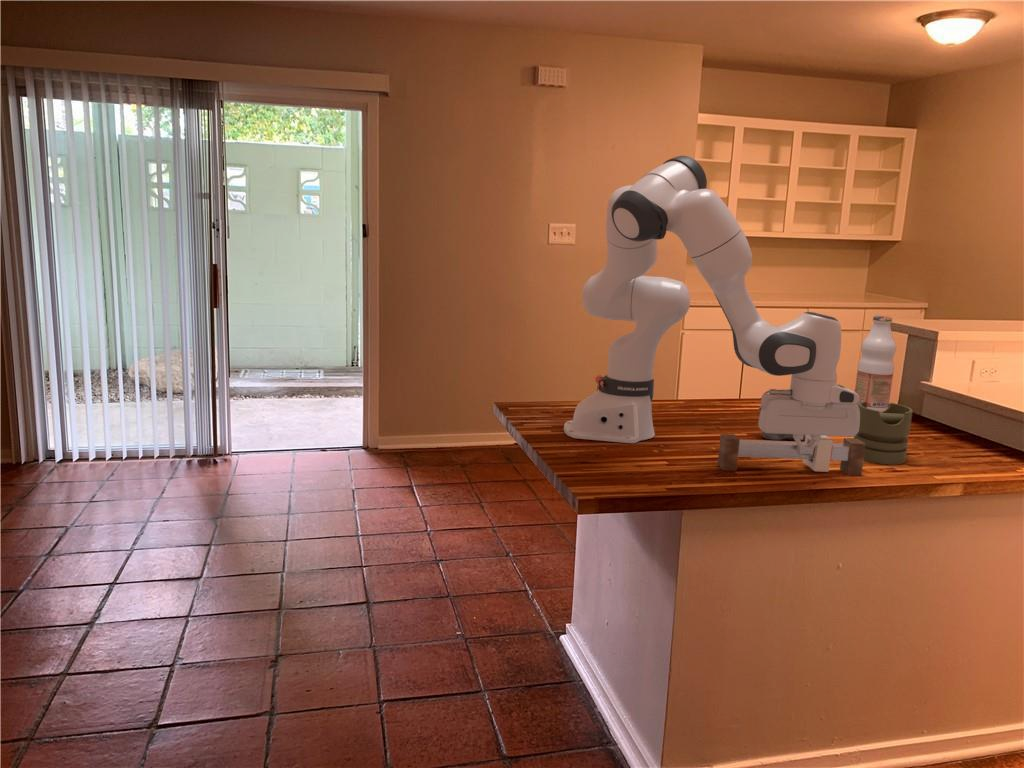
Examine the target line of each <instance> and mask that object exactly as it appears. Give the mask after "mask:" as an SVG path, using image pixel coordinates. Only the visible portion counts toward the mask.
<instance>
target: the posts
mask: <svg viewBox="0 0 1024 768" xmlns="http://www.w3.org/2000/svg"><path fill="white" fill-rule="evenodd" d="M740 440H741V438H739V437H738V436H737V435H736V434H734V433H720V437H719V445H718V446H719V449H718V459H717V465H718V467H719V466H720V467H721V468H720V467H719V468H720V469H721V470H722V471H734V472H735V471H736V472H737V470H738V469H737V467H738V458H739V457H738V451H739V441H740ZM842 443H845V444H846V445H848V446H849V447H850V453H849V460H848V461H843V460H840V466H839V469H840V470H841V471H842V472H843V471H844V472H843V473H845V474H846V475H848V476H862V475H863V474H862V473H863V466H864V462H865V461H864V454H865V446H866V444H865V443H863V442H862V441H860V440H859V439H854V438H848V437H847V438H845V437H844V438H843V442H842Z"/></svg>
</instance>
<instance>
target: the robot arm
mask: <svg viewBox="0 0 1024 768" xmlns="http://www.w3.org/2000/svg"><path fill="white" fill-rule="evenodd" d="M707 184H708V181H707V175H706V172H705V171H704V169H703V166H701V164H700V163H699V162H698V161H697V160H696V159H694V158H692V157H691V156H689V155H678V156H674V157H672V158H669V159H668V160H665V161H664V162H663V163H662V164H661V165H659V166H657V167H655V168H653V169H652V170H650V171H649V172H647V173H646V174H644V175H643V176H642V177H641V178H640V179H639V180H637V181H636V182H635V183H634V184H628V185H624V186H621V187H618V188H617V189H616V190H615V191H613V193H612V194H611V195H610V196H609V198H608V203H607V209H606V220H605V221H606V222H605V227H606V229H605V230H606V231H605V232H606V243H607V247H606V248H607V255H606V256H607V258H606V262H605V265H604V266H603V268H602V269H601V270H599V272H598V273H595V274H594V275H592V276H590V277H589V278H588V280H587V281H586V282H585V283H584V285H583V288H582V291H581V302H582V306H583V307H584V309H585V312H587V314H589V315H590V316H593V317H597V318H601V319H604V320H611V321H625V322H632V323H635V328H634V330H632V332H629V333H627V334H625V335H621V336H619V337H618V338H616V339H614V340H613V341H612V342H611V344H610V345H609V347H608V355H607V357H608V358H607V369H606V373H607V374H606V375H604V376H603V375H601V374H597V375H596V376H595V377H594V381H595V382H596V383H597V391H595V392H593V393H592V394H590V395H589V396H588V397H586V398H584V399H583V400H581V401H580V402H578V404H577V405H576V407H575V410H574V413H573V416H572V420H568V421H566V422H565V423H564V426H563V432H564V434H565V435H567V436H568V437H570V438H572V439H580V440H592V441H601V442H613V443H622V444H624V443H625V444H635V443H638V442H641V441H645V440H648V439H653V438H654V437H655V436H656V433H655V429H654V423H653V415H652V414H653V413H652V411H653V409H652V403H653V399H654V393H655V379H654V377H653V374H654V365H655V358H656V352H657V348H658V346H659V343H660V341H661V339H662V338H663V336H664V335H665V334H666V332H667V331H668V330H669V329H670V328H671V327H673V326H674V325H675V324H677V323H679V322H680V321H682V320H683V319H684V318H685V316H686V315H687V313H688V312H689V309H690V306H691V295H690V290H689V289H688V287H687V285H686V284H685V283H684V282H683V281H681V280H676V279H673V278H670V277H664V276H651V275H645V274H647V273H648V272H649V271H650V270H651V269H652V268H654V266H655V264H656V262H657V260H658V241H659V240H663V239H664V238H665V237H666V234H667V232H670V233H673V234H675V235H676V236H678V237H679V239H680V241H681V242H682V244H683V246H684V248H685V250H686V252H687V253H688V255H689V257H690V259H691V261H692V262H693V264H694V266H695V267H696V269H697V270H698V272H699V273H700V275H701V276H702V278H703V279H704V280H705V282H706V283H707V285H708V286H709V288H710V289H711V290H712V292H713V294H714V296H715V298H716V299H717V302H718V304H719V306H720V308H721V310H722V313H723V314H724V317H725V318H726V320H727V322H728V324H729V327H730V329H731V333H732V340H733V342H732V343H733V349H734V353H735V355H736V357H737V358H738V360H739V361H740V362H741V363H742V364H744V365H745V366H747V367H751V368H754V369H757V370H759V371H761V372H763V373H767V374H768V375H771V376H776V377H780V376H790V375H791V376H790V377H791V379H790V385H789V389H783V388H782V389H776V388H770V389H769V390H767V391H765V392H764V393H763V394H762V396H761V400H760V406H761V407H762V409H761V412H760V411H759V417H758V422H757V423H758V424H757V425H758V427H759V429H760V430H761V432H762V431H763V432H765V433H774V434H793V438H794V440H793V441H794V442H796V444H797V454H799V455H813V450H814V448H815V446H816V445H817V444H818V443H819V441H820V438H821V435H824V436H827V437H851V438H854V436H855V435H856V434H857V433H858V432H859V426H860V410H859V407H858V406H857V405H856V403H858V401H859V395H858V394H857V393H856V392H855V390H851V389H849V388H848V387H845V386H843V385H841V384H838V383H837V380H838V374H837V366H838V363H839V361H840V357H841V350H842V349H841V348H842V326H841V323H840V321H839V320H838V319H837V318H836V317H833V316H829V315H826V314H823V313H822V314H821V313H816V312H814V311H805V312H802V313H801V315H800V316H798V317H796V318H795V319H793V320H791V321H789V322H787V323H784V324H781V325H778V326H775V325H773V324H771V323H769V322H768V321H766V320H765V319H764V318H763V317H762V316H761V315H760V314H759V311H758V310H757V307H756V305H755V304H754V302H753V299H752V297H751V295H750V293H749V291H748V289H747V287H746V283H745V278H746V275H747V274H748V273H749V271H750V269H751V267H752V263H753V258H754V257H753V254H752V250H751V246H750V244H749V240H748V239H747V237H746V235H745V233H744V231H743V229H742V227H741V226H740V224H739V222H738V221H737V219H736V217H735V216H734V214H733V213H732V211H731V210H730V208H729V207H728V206H727V205H726V203H725V202H724V200H723V199H722V198H721V197H720V196H719V195H718V194H717V193H716V191H714V190H712V189H710V188H709V189H708V188H707V186H708V185H707ZM804 435H810V437H811V438H812V440H811V441H810V442H809V444H808V445H802V442H803V441H804V440H803V436H804ZM800 439H802V440H800Z"/></svg>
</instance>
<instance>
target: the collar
mask: <svg viewBox="0 0 1024 768" xmlns="http://www.w3.org/2000/svg"><path fill="white" fill-rule="evenodd" d="M811 440H812V438H811V437H810V435H806V436H805V440H804V442H810V441H811ZM832 443H833V439H832V438H830V436H824V435H821V438H820V441H819V443H818V444H817V445H816V446H815V451H814V459H802V462H803V463H804V464H805V465H806V466H808V467H809V468H810V469H811V470H812V471H814V472H823V473H824V472H827V473H828V472H829V471H830V463H831V461H830V457H831V449H832Z"/></svg>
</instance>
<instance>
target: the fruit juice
mask: <svg viewBox="0 0 1024 768" xmlns="http://www.w3.org/2000/svg"><path fill="white" fill-rule="evenodd" d="M892 321H893V317H892V316H889V315H888V316H886V315H874V316H872V322H873V324H872V326H871V328H870V330H869V332H868V334H867V336H865V338H864V339H863V341H862V342H861V346H860V347H861V348H860V350H861V357H860V359H859V360H858V361H859V362H858V365H857V373H856V377H855V378H856V380H855V387H854V392H856V393H857V394H858V395H859V401H858V403H856V405H857V406H858V404H859V403H860V402H864V401H866V407H867V408H868V409H872V410H876V411H879V412H883V411H885V410H886V409H887V408H888V407H889V405H890V400H891V399H890V397H891V393H892V392H891V391H892V385H893V377H894V372H895V371H894V370H895V362H894V357H895V355H896V352H897V344H896V341H895V340H894V338H893V332H892V329H891V324H892V323H893V322H892Z"/></svg>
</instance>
